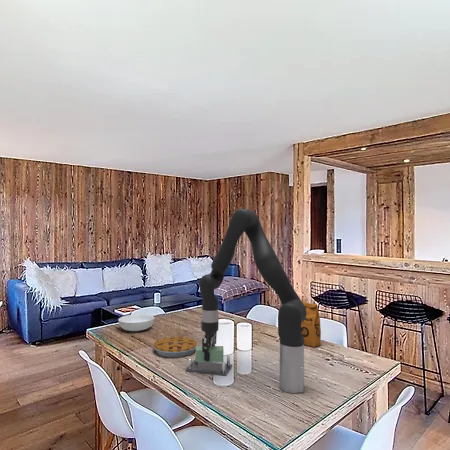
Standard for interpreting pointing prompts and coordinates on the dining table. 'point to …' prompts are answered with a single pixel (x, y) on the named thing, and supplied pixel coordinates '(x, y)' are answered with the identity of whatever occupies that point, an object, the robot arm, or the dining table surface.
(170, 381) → the dining table surface
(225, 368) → the chassis
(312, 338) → the coffee package
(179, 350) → the pie
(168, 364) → the dining table surface
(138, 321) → the serving bowl
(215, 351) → the board
